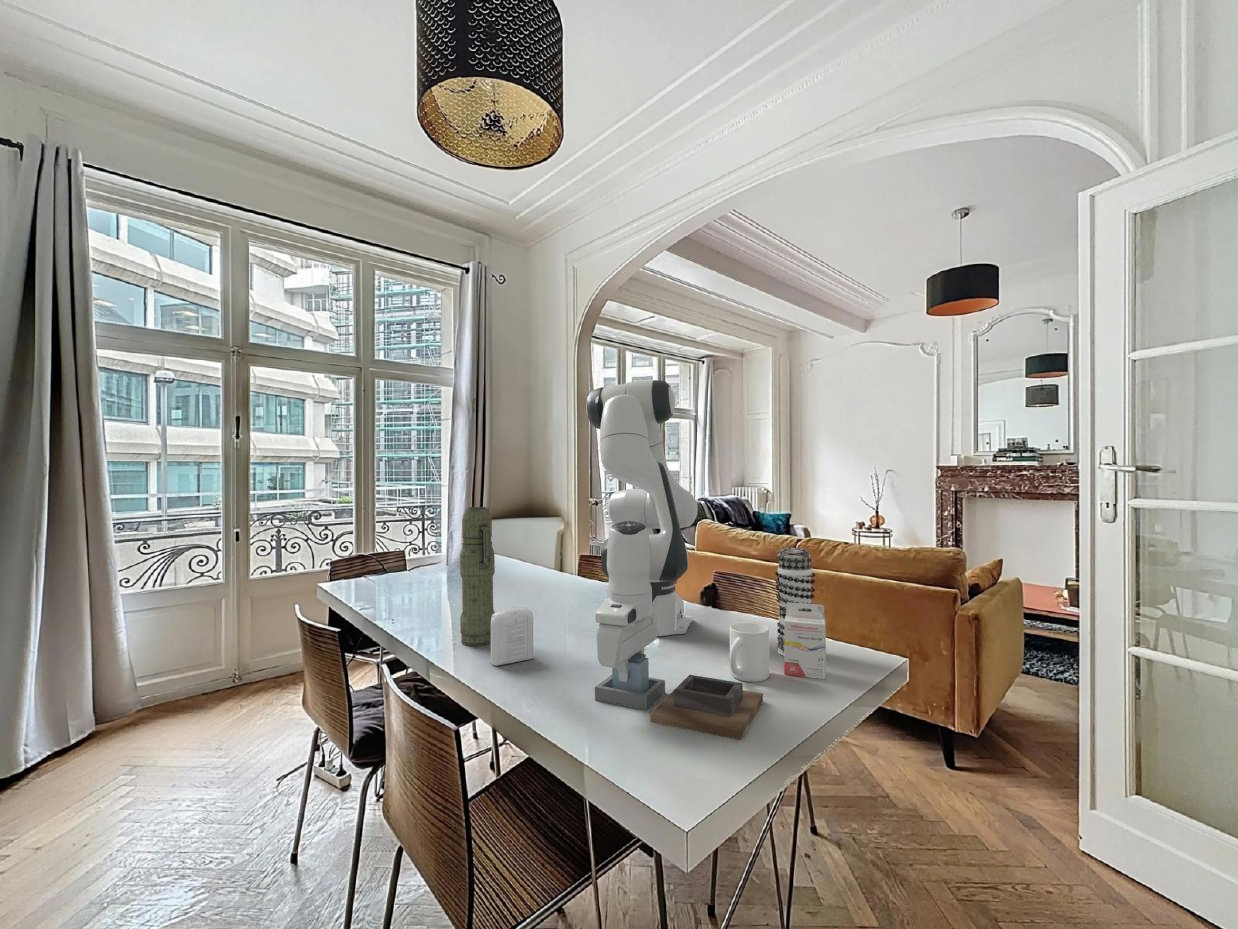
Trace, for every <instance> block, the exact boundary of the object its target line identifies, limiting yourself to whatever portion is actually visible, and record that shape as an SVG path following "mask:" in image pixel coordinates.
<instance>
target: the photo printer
mask: <svg viewBox="0 0 1238 929" xmlns="http://www.w3.org/2000/svg"><path fill="white" fill-rule="evenodd" d="M532 659H534V613H533V611H532V609H530V608H528V607H527V608H526V607H519V606H518V607H517V606H516V607H508V608H504V609H502V610H499V611H497V612H495V613H494V614H493V615H492V617H491V643H490V664H491V665H492V666H502V665H503V666H504V665H508V664H513V663H518V662H522V661H527V660H532Z"/></svg>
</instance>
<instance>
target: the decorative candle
mask: <svg viewBox="0 0 1238 929" xmlns="http://www.w3.org/2000/svg"><path fill="white" fill-rule="evenodd" d="M776 556H777V557H778V566H777V572H775V576H776V579H775V583H776V585H775V590H776V591H778V592H777V593H776V598H777V600H776V604H777V605H778V610H779V614H778V622H777V633H778V634H779V635H778V636H777V641H778V642H777V647H778V649H777V652H778V653H777V654H779V655H780V654H781V655H780V656H782V655H783V657H784V622H785V616H786V603H787V602H790V603H804V604H815V603H814V602H813V601H812V600H813V599H815V598H816V596H815V594H813V592H815V591H816V589H815V588H814V587H813V586H812V585H814V584H815V583H816V580H815V579H814V577H816V573H815V572H813V567H812V557H813V556H812V554H810V553H809V551H808V550H807V549H806V548H802V547H784V548H782V549H781V550H780V551H779V553H777V554H776ZM798 610H799V611H805V612H811V611H812V610H811V609H807V608H805V607H804V608H799V609H798Z"/></svg>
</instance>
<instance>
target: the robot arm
mask: <svg viewBox="0 0 1238 929" xmlns="http://www.w3.org/2000/svg"><path fill="white" fill-rule="evenodd" d="M675 397H676V396H675V393H674V391H673V390H672V387H671V384H669V383H668V382H667V381H666V380H659V379H653V380H652V381H648V380H647V381H642V380H641V381H630V382H627V383H619V384H615V385H611V386H607V387H603V386H602V387H598V388H595V389H593V390H591V391H590V393H589V394H588V395H587V398H586V404H585V410H586V411H585V412H586V415H587V419H588V422H589V423H590V425H591V426H592V427H594V428H595V429H597V430H600V431H599V452H600V460H601V464H602V466H603V468H604V470H605V471H606V472H607V473H608V474H609V475H610V476H611V477H612V478H615V479H616V480H618V481H620V482H623V483H625V484H628V485H631V486H633V487H636V488H629V489H622V490H619V491H615V492H613V493H612V494H611V496H610V497H609V499H608V501H607V515H608V517H609V520H610V521H611V522H612V525H611V526H609V527H610V528H609V531H608V538H606V539H605V540H604V542H602V543H601V545H600V547H599V549H600V557H601V558H600V559H601V560H600V562H601V563H600V566H601V567H600V572H601V573H602V574H603V575H604V576H606V577H607V579H608V583H607V587H606V596H607V597H605V599H604V600H603V602H602V604H601V605H600V607H599V608H598V609H596V612H595V615H594V616H595V618H594V619H595V622H596V623H597V624H599V625H598V627H597V629H596V652H597V660H598V662H599V664H600V666H601V667H606V668H617V670H618V672H619V680H620V681H623V682H626V681H628V680H629V679H630V670H628V668H627V664H628V659H629V658H631V657H632V656H633V655H635V654H636V653H640V654H645V648H646V647H647V646H649V645H651V644H652V643H653V642H654V641H656V639H657V637H665V636H671V635H683V634H686V633H687V631H688V630H689V628H690V626H691V624H692V622H693V616H691V615H687V614H685V602H684V600H683V599H682V597H680V595H678V593H677V592H676V584H678V580H679V579H681V577H682V576H683V575H684V574H685V573H686V572H687V571H688V569H689V568H688V567H689V553H688V548H687V546H686V543H685V540H684V537H683V534H682V530H681V529H683V528H689V527H690V526H692V524H693V523H695V521H696V519H697V517H698V502H697V500H696V498H695V496H694V495H693V494H692V493H691V492H690V491H689V490H687V489H685V488H684V487H683V486H681V485H680V484H679V483H678V482H677V481H676V479H675V478H674V476H673V475H672V473H671V472H670V470H669V467H668V464H667V460H666V455H665V450H664V443H663V436H662V430H661V426H660V425H662V424H663V423H666V422H667V421H670V419H671V418H672V417H673V415H674V411H675V408H676V407H675V406H676V398H675ZM653 529H655V530H656V529H659V530H660V532H659V533H655V534H654V531H653ZM690 623H691V624H690ZM688 627H689V628H688Z"/></svg>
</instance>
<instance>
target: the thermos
mask: <svg viewBox="0 0 1238 929" xmlns="http://www.w3.org/2000/svg"><path fill="white" fill-rule="evenodd" d="M461 519H462V520H461V523H462V524H461V526H462V527H461V528H462V529H461V533H462V534H461V536H462V548H461V550H460V554H459V573H460V577H461V581H462V582H461V588H462V589H461V593H462V594H461V596H462V599H461V600H462V602H461V603H462V606H461V608H462V610H461V611H462V612H461V614H460V620H459V622H460V630H459V632H460V636H461V640H460V642H461V644H462V643H463V644H462V645H464V644H465V646H468V645H470V646H471V647H473V646H475V647H477V645H479V646H484V644H486V645H488V644H487V643H489V644H491V617H492V615H493V614H494V613H496V612H495V610H494V575H495V568H496V566H495V564H496V563H495V551H494V547H493V541H492V537H493V527H492V525H493V518H492V514H491V512H490V509H489V508H487V507H486V506H470V507H469V506H468V507H467V508H465V509H464V512H463V515H462V518H461ZM472 645H473V646H472Z"/></svg>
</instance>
